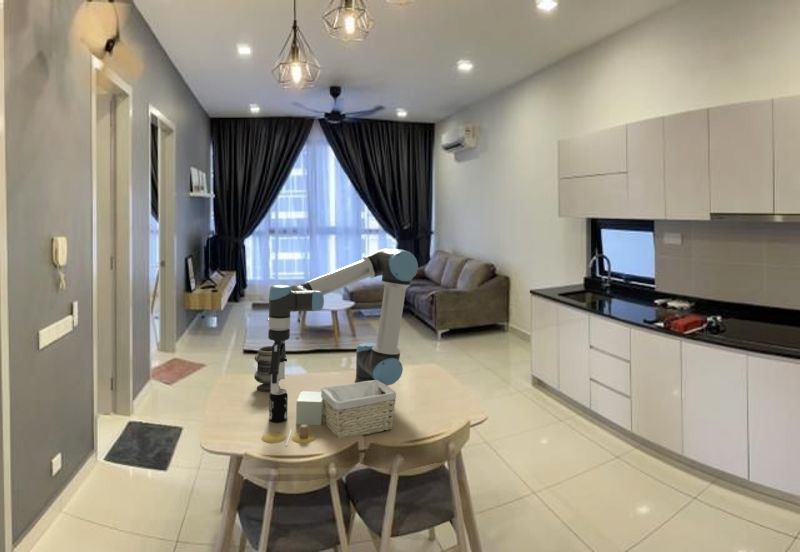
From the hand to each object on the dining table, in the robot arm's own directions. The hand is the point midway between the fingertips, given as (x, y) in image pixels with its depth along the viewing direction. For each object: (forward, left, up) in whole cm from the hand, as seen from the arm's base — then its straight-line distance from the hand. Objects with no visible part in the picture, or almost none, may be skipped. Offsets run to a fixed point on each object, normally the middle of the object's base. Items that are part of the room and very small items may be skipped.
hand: (277, 385), depth 179 cm
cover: (-17, 0, -9) cm, 19 cm away
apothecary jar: (+10, -36, -15) cm, 40 cm away
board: (-6, +15, -14) cm, 22 cm away
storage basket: (-30, +4, -15) cm, 33 cm away
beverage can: (0, 0, -15) cm, 15 cm away
